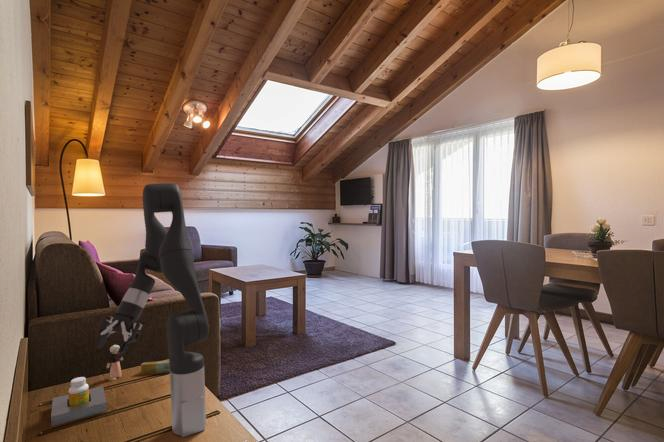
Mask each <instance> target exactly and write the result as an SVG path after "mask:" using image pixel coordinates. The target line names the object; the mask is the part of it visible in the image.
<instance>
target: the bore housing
mask: <svg viewBox="0 0 664 442" xmlns="http://www.w3.org/2000/svg"><path fill="white" fill-rule="evenodd" d="M51 404H52V405H51V413H50V416H51V417H50V422H51V424H50V425H51V428H52V426H53V427H56V426H60V425H63V424H67V423H71V422H75V421H77V420H81V419H85V418H89V417H92V416H96V415H100V414H102V413H103V414H104V413H107V412H108V411H107V409H108V408H107V398H106V394H105V388H104V386H103V385H102V386H101V385H100V386H99V387H98V386H97V387H93V388H90V389H89V402H86V403H82V404H78V405H74V406H70V407H69V393H68V394H65V395H60V396H57V397H52V403H51Z"/></svg>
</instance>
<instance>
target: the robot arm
mask: <svg viewBox="0 0 664 442" xmlns="http://www.w3.org/2000/svg"><path fill="white" fill-rule="evenodd" d="M183 205H184V204H183V197H182V192H181V189H180V187H179V185H178V184H177V183H172V182H171V183H170V182H167V183H166V182H165V183H163V182H162V183H150V184H149V183H148V184H146V185H144V187H143V189H142V208H143V209H142V211H143V217H144V220H143V221H144V226H145V243H144V247H145V250H144V251H142V252H141V254H140V255H139V258H138V263H137V264H138V265H137V268H136V269H137V270H136V272H135V275H134V278H133V280H132V282H131V284H130V286H129V288H128V289H127V291H126V292H125V293H124V296H123V297H122V300H121V301H120V303H119V304H118V305H119V306H118V307H117V309H116V310H115V315H114V317H113V316H110V315H105V317H104V319H103V320H102V322H101V324H100V325H99V327H98V328H97V333H99V334H100V336H99V338H98V339H97V341H96V344H95V345H96V348H99V349H103V348H104V345H105V344H106V342H107V339H108V337H109V336H111V335H112V334H115V333H120V334H122V336H123V341H122V342H121V344H120V345H119V347H120V348H119V350H118V353H120V354H121V355H124V354H125V353H126V352H127V349H128V347H129V345H130V344H131V343H137V342H138V340H139V338H140V335H141V333H142V331H143V327H144V325H143V324H142V323H140V322H137V321H138V320H139V319H140V318H141V317H140V316H141V315H142V312H143V311H144V309H145V306H146V304H147V303H148V299H149V296H150V294H151V293H152V290H153V288H154V286H155V283H156V280H155V279H154V278H153V277H152V276H150V275H148V274H146V271H147V270H148V271H151V272H154V273H157V274H163V276H164V277H165V279H167V281H168V282H169V283H170V284H171V285H173V287H174V288H175V289H176V290H177V291H178V292H179V293H180V294H181V295H182V297H183V298H184V300H185V302H186V304H187V308H188V310H189V311H185V312H180V313H174V314H172V315H169V317H168V318H167V320H166V327H165V328H166V339H167V340H166V341H167V348H168V349H167V351H168V352H167V353H168V361H169V363H170V373H169V377H170V379H169V380H170V381H169V382H170V383H169V385H170V403H171V404H170V407H171V429H172V433H173V434H174V435H176V436H181V438H185V437H188V436H191V435H193V434H196V433H200V432H203V431H204V430H205V429H206V428H205V427H206V426H207V411H206V410H207V408H206V385H205V384H206V383H205V381H206V379H205V358H204V356H203V355H202V354H201V353H199V352H194V351H185V347H184V346H190V345H194V344H196V343H200V342H204V341H206V340H208V337H209V335H210V325H209V319H208V315H207V311H206V309H205V305H204V302H203V299H202V295H201V291H200V289H199V283H198V279H197V274H196V268H195V261H194V257H193V252H192V249H191V243H190V240H189V235H188V232H187V231H188V230H187V225H186V220H185V212H184V206H183ZM155 213H171V215H172V218H171V219H172V220H171V223H170V226H169V228H168V230H167V229H166V228H165V226H164V224H162V223H161V222H160V221H159V219H158V218H157V217H156V215H155ZM132 329H133V330H132Z"/></svg>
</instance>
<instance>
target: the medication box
mask: <svg viewBox="0 0 664 442" xmlns="http://www.w3.org/2000/svg"><path fill="white" fill-rule="evenodd" d="M166 373H167V374H170V363H169V360H163V361H162V360H161V361H160V360H159V361H146V362H142V363H141V364H140V374H141V375H153V374H166Z"/></svg>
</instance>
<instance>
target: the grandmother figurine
mask: <svg viewBox="0 0 664 442" xmlns="http://www.w3.org/2000/svg"><path fill="white" fill-rule="evenodd" d="M119 348H120V345H118V344H113V345H112V346H110V348H109V351H110V353H111V355H110V357H109V359H108V361H107V364H106V369H109V368H110V370H109V379H108V380H109V381H111V382H113V381H116V380H118V379H119V378H121V377H122V368H121V363H120V361H124V358H123V354H120V353H118V350H119Z"/></svg>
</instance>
